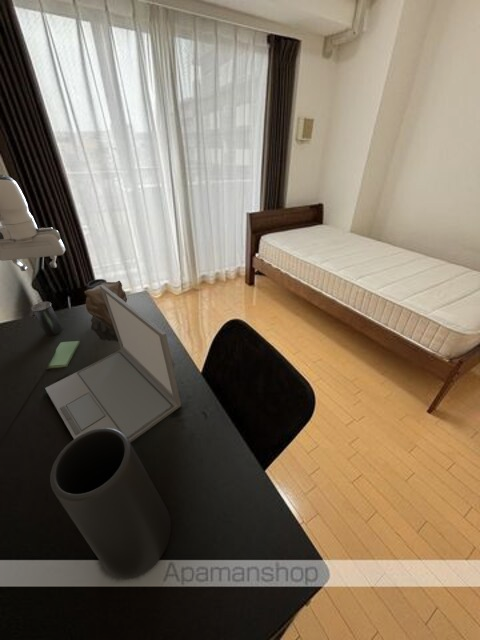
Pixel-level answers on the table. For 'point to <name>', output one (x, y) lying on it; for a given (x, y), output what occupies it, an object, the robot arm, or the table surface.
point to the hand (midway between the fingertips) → (39, 268)
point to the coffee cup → (95, 283)
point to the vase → (112, 501)
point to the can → (47, 318)
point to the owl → (103, 309)
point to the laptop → (121, 380)
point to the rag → (63, 354)
